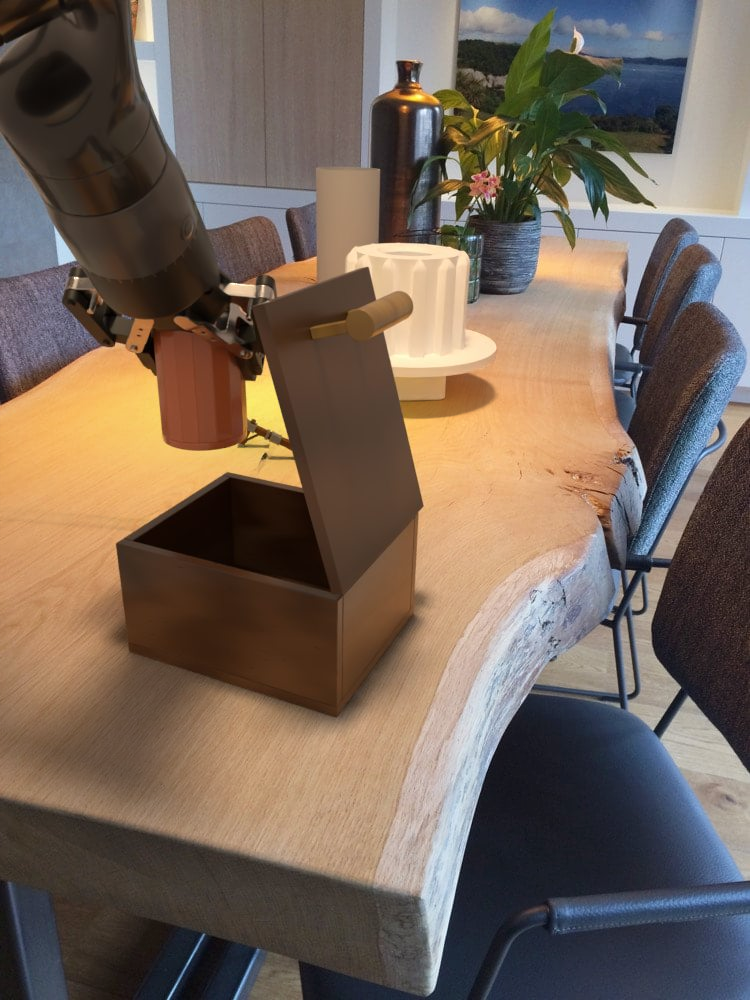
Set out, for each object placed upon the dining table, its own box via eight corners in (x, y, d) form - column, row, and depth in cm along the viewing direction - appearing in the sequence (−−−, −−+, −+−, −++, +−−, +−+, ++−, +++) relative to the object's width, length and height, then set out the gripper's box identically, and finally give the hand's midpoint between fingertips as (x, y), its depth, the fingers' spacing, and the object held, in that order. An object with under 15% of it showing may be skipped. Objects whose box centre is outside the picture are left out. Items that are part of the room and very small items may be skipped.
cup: (150, 448, 60) (137, 324, 56) (179, 419, 66) (169, 306, 62) (234, 453, 60) (227, 329, 56) (256, 424, 65) (251, 310, 61)
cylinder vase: (304, 296, 172) (303, 167, 162) (349, 289, 180) (351, 166, 169) (343, 307, 164) (344, 171, 153) (389, 299, 172) (393, 170, 161)
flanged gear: (323, 422, 103) (323, 267, 95) (306, 366, 126) (305, 236, 118) (515, 416, 107) (530, 267, 99) (466, 363, 130) (475, 237, 121)
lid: (251, 306, 44) (331, 289, 42) (358, 268, 56) (426, 253, 53) (331, 595, 50) (407, 594, 47) (414, 507, 61) (478, 502, 59)
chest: (128, 651, 59) (115, 543, 56) (232, 566, 71) (227, 471, 67) (336, 717, 53) (337, 601, 50) (413, 613, 65) (418, 512, 61)
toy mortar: (228, 446, 93) (243, 411, 91) (294, 473, 95) (310, 439, 93) (226, 452, 91) (241, 417, 89) (293, 480, 93) (309, 445, 91)
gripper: (265, 170, 47) (308, 329, 63) (25, 163, 49) (125, 320, 64) (245, 282, 45) (295, 418, 60) (-8, 271, 46) (105, 407, 62)
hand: (207, 367), depth 62 cm, fingers closed on cup, 6 cm apart
